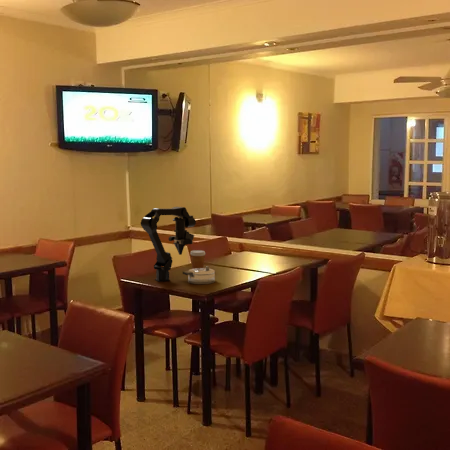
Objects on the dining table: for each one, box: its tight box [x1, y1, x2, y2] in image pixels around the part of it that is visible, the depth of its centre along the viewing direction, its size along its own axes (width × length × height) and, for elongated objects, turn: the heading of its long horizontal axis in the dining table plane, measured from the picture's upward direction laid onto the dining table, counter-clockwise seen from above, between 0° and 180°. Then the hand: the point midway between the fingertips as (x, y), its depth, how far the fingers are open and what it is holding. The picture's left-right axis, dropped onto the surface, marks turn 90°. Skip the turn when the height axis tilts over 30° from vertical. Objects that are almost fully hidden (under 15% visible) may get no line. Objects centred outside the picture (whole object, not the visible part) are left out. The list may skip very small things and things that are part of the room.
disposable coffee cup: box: [189, 249, 206, 269], centre depth 359 cm, size 10×10×12 cm
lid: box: [182, 265, 216, 276], centre depth 327 cm, size 18×15×3 cm
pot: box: [187, 272, 216, 285], centre depth 329 cm, size 15×15×5 cm
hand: (180, 254), depth 340 cm, fingers closed
